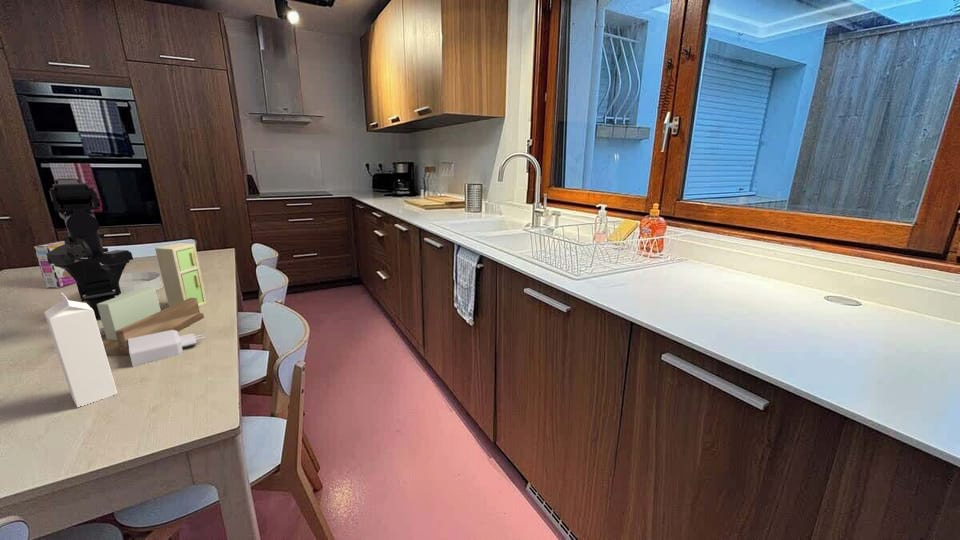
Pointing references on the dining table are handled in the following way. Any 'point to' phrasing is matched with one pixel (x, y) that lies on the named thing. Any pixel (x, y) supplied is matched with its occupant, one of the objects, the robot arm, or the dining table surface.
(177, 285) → the toy refrigerator
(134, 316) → the door panel
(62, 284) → the candy bar box
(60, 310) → the milk
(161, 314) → the cabinet base
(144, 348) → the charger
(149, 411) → the dining table surface
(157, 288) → the dish
